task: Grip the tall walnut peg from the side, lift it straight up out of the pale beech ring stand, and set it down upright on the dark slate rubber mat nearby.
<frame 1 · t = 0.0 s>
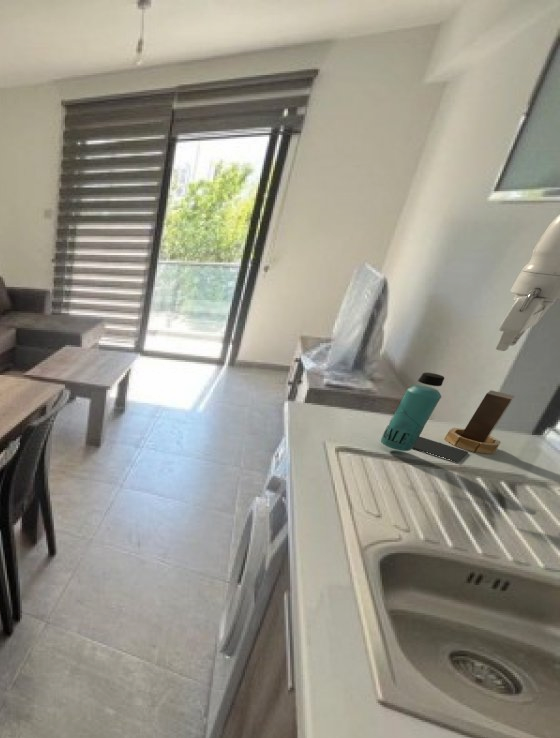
hand: (505, 347, 114), 25 cm above the table, tool pointing down, fingers open, 8 cm apart
beverage bottle: (392, 451, 119), on the table
ring stand: (469, 444, 124), on the table
mat: (436, 449, 121), on the table
peg: (484, 420, 121), in the ring stand
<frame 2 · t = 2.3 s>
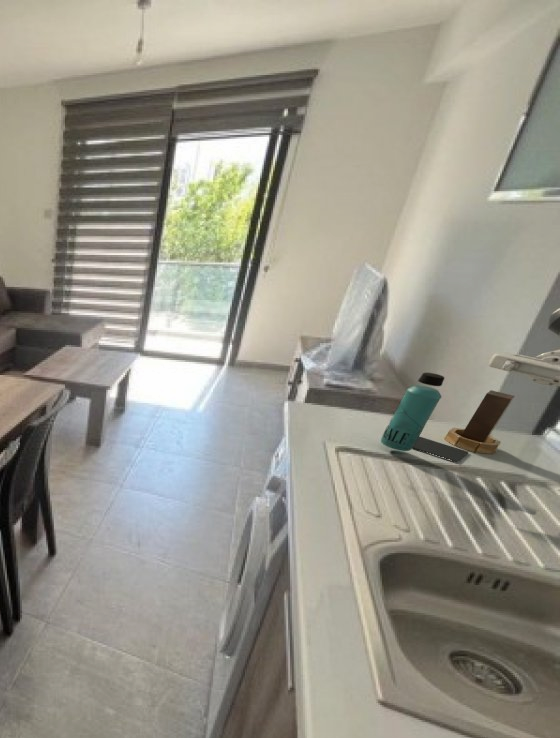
hand: (532, 373, 120), 18 cm above the table, tool horizontal, fingers open, 8 cm apart
nothing on the table moved.
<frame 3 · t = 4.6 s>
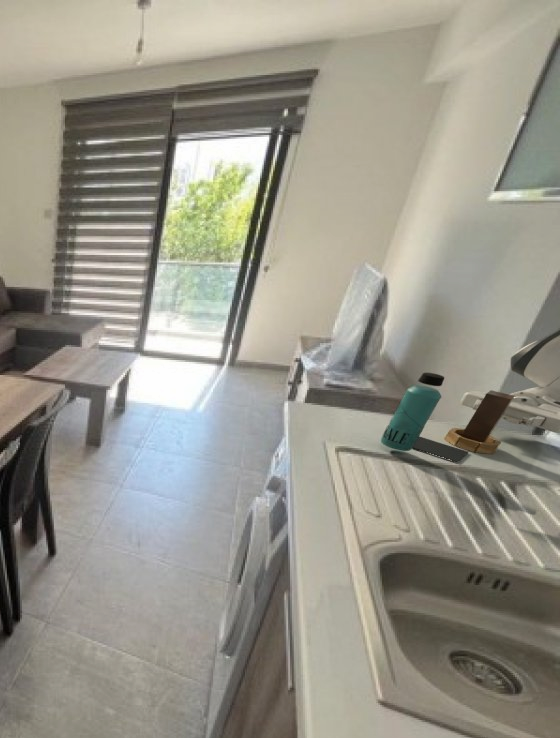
hand: (500, 414, 123), 8 cm above the table, tool horizontal, fingers open, 8 cm apart
nothing on the table moved.
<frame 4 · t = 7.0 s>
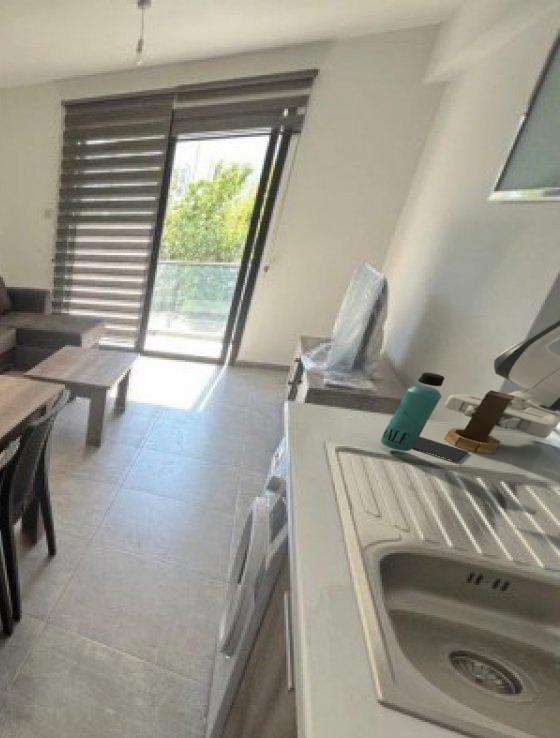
hand: (484, 418, 120), 8 cm above the table, tool horizontal, fingers closed on peg, 5 cm apart
peg: (484, 420, 121), in the ring stand, touching gripper
everything else where it was.
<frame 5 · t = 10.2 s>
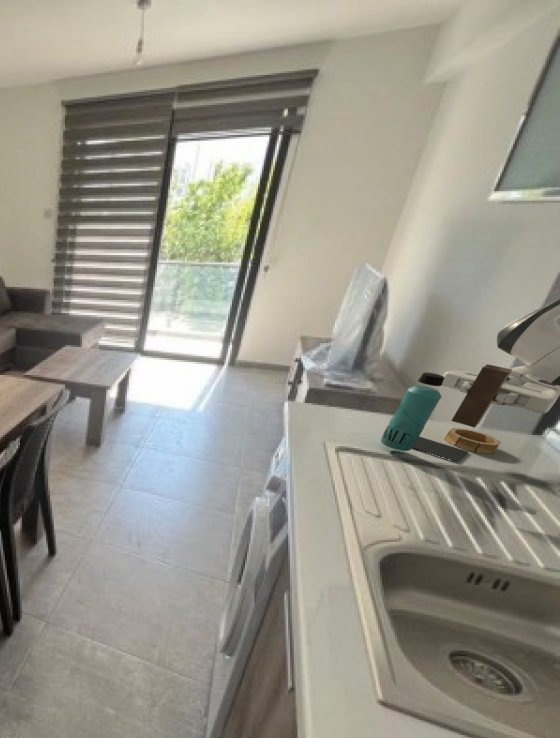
hand: (480, 393, 115), 15 cm above the table, tool horizontal, fingers closed on peg, 5 cm apart
peg: (480, 396, 115), point 14 cm above the table, touching gripper
everything else where it was.
when the fingers open (8 cm above the table, at t = 13.4 s): peg stays where it is, resting on mat.
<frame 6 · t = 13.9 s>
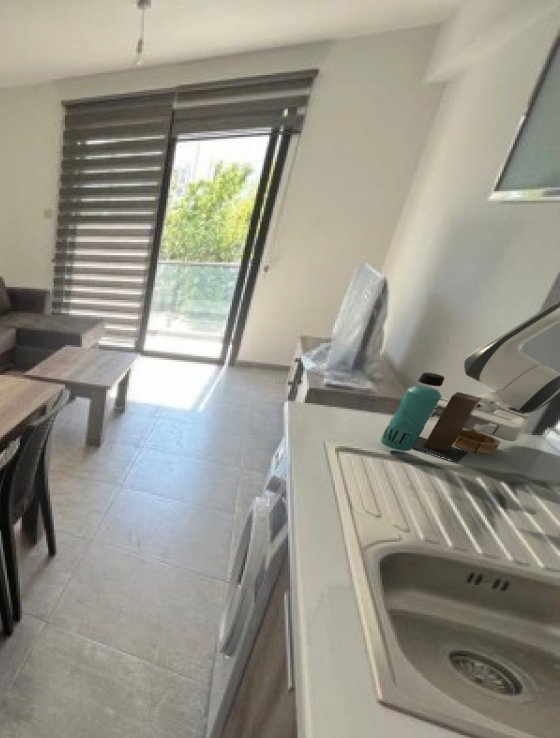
hand: (451, 421, 116), 8 cm above the table, tool horizontal, fingers open, 8 cm apart
peg: (451, 423, 117), on the mat
everything else where it was.
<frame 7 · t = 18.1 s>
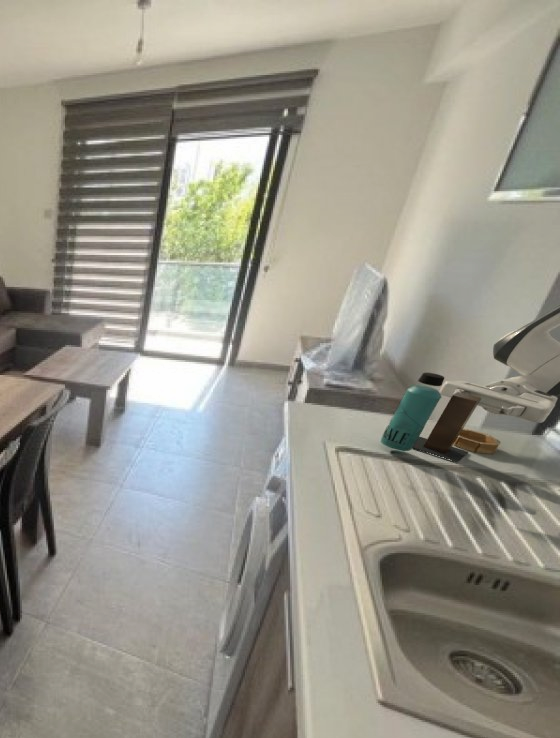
hand: (479, 403, 119), 11 cm above the table, tool horizontal, fingers open, 8 cm apart
nothing on the table moved.
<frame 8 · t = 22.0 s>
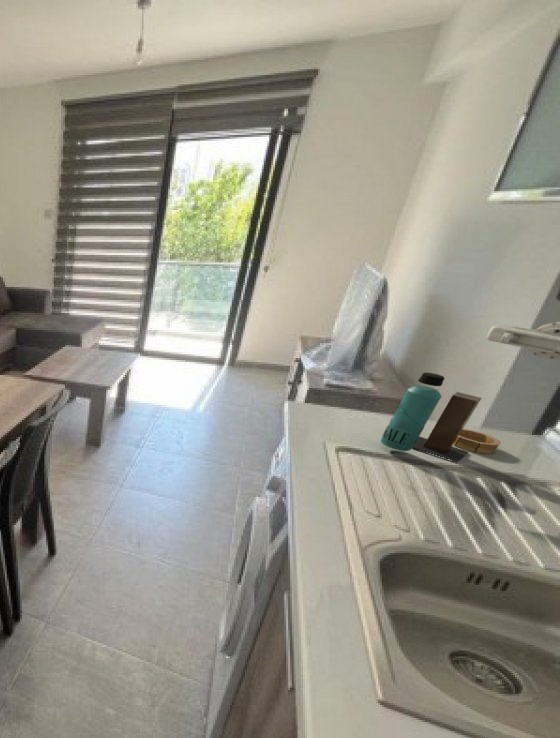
hand: (532, 344, 114), 26 cm above the table, tool horizontal, fingers open, 8 cm apart
nothing on the table moved.
at the end: peg inside the target area on the mat (0.1 cm from its centre), point 7.4 cm above the mat's base; peg tilted 0°; peg touching mat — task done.
